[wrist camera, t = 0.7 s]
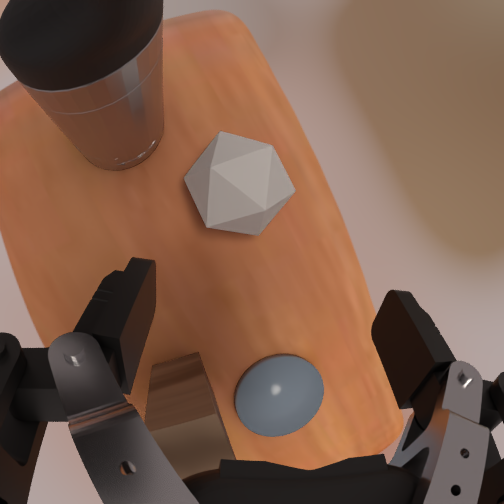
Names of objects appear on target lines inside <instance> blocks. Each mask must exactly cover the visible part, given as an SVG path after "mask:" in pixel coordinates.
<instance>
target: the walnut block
mask: <svg viewBox="0 0 504 504" xmlns="http://www.w3.org/2000/svg"><path fill="white" fill-rule="evenodd" d="M144 424H145V425H146V427H147V429H148V430H149V432H150V433H151V435H152V437H153V438H154V440H155V441H156V443H157V445H158V446H159V448H160V449H161V451H162V452H163V454H164V455H165V457H166V458H167V460H168V461H169V463H170V464H171V466H172V467H173V469H174V470H175V471H176V473H177V474H178V476H179V477H180V478H181V480H182V479H184V478H186V477H188V476H191V475H194V474H196V473H199V472H203V471H207V470H213V469H218V468H219V464H220V460H221V459H228V460H236V458H235V455H234V452H233V449H232V447H231V444H230V441H229V438H228V435H227V432H226V429H225V426H224V423H223V421H222V418H221V415H220V412H219V408H218V405H217V402H216V399H215V396H214V393H213V390H212V388H211V385H210V382H209V380H208V377H207V374H206V372H205V369H204V366H203V363H202V361H201V358H200V355H199V352H197V353H194V354H191V355H188V356H184V357H181V358H177V359H174V360H171V361H167V362H164V363H160V364H157V365H153V366H152V371H151V378H150V385H149V392H148V399H147V407H146V415H145V423H144Z"/></svg>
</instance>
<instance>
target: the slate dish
mask: <svg viewBox="0 0 504 504" xmlns="http://www.w3.org/2000/svg"><path fill="white" fill-rule="evenodd" d="M323 394H324V385H323V380H322V378H321V375H320V374H319V372H318V371H317V369H316V368H315V367H314V366H313V365H312V364H310V363H309V362H308V361H306V360H305V359H303V358H301V357H299V356H296V355H291V354H276V355H272V356H269V357H266V358H264V359H261V360H259V361H258V362H256V363H255V364H253V365H252V366H251V367H250V368H249V369H248V370H247V371H246V372H245V373H244V374H243V375H242V377H241V378H240V380H239V382H238V384H237V386H236V390H235V395H234V404H235V408H236V411H237V414H238V416H239V418H240V420H241V421H242V423H243V424H244V425H245V426H246V427H247V428H248V429H249V430H251V431H252V432H254V433H256V434H259V435H263V436H270V437H275V436H283V435H287V434H290V433H292V432H295V431H296V430H298V429H300V428H302V427H303V426H304V425H306V424H307V423H308V422H309V421H310V420H311V419H312V418H313V417H314V415H315V414H316V413H317V411H318V409H319V407H320V405H321V403H322V399H323Z"/></svg>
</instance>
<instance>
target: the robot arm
mask: <svg viewBox="0 0 504 504" xmlns="http://www.w3.org/2000/svg"><path fill="white" fill-rule="evenodd" d="M162 31H163V0H10V1H9V3H8V4H7V6H6V8H5V10H4V11H3V13H2V16H1V18H0V56H1V58H2V60H3V61H4V63H5V64H6V66H7V67H8V68H9V69H10V71H11V72H12V73H13V74H14V76H15V77H16V78H17V79H18V81H19V82H20V83H21V84H22V86H23V87H24V88H25V89H26V90H27V92H28V93H29V94H30V95H31V96H32V97H33V99H34V100H35V101H36V102H37V103H38V104H39V105H40V106H41V108H42V109H43V110H44V111H45V112H46V113H47V115H48V116H49V117H50V118H51V119H52V120H53V122H54V123H55V124H56V125H57V126H58V127H59V128H60V129H61V131H62V132H63V133H64V134H65V135H66V136H67V137H68V138H69V140H70V141H71V142H72V143H73V144H74V145H75V146H76V148H77V149H78V150H79V151H80V152H81V153H82V154H83V155H84V156H85V157H86V158H87V159H88V160H89V162H91V163H92V164H94V165H95V166H97V167H100V168H103V169H107V170H123V169H127V168H130V167H133V166H135V165H137V164H139V163H141V162H142V161H143V160H145V159H146V158H147V157H149V156H150V154H151V153H152V152H153V151H154V150H155V149H156V147H157V145H158V143H159V142H160V140H161V137H162V134H163V128H164V113H163V38H162ZM155 307H156V263H155V260H149V259H142V258H135V257H132V258H131V260H130V261H129V263H128V265H127V267H126V269H125V270H124V272H123V271H117V270H115V271H113V272H112V273H110V274H109V275H108V276H106V277H105V278H104V279H103V280H102V282H101V284H100V285H99V287H98V289H97V291H96V292H95V294H94V295H93V297H92V300H90V302H89V304H88V306H87V307H86V309H85V311H84V313H83V315H82V316H81V318H80V320H79V322H78V324H77V325H76V327H75V329H74V331H73V332H70V333H66V334H63V335H61V336H59V337H58V338H57V339H55V340H54V341H53V343H52V344H51V345H50V347H48V348H21V346H20V343H19V341H18V339H17V338H16V337H15V336H13V335H12V334H9V333H0V504H27V500H28V496H29V491H30V486H31V482H32V478H33V474H34V470H35V466H36V462H37V458H38V455H39V451H40V447H41V444H42V440H43V437H44V434H45V430H46V427H47V424H48V422H54V421H55V422H69V424H68V426H69V430H70V433H71V435H72V438H73V441H74V443H75V445H76V448H77V450H78V452H79V455H80V457H81V459H82V462H83V464H84V466H85V468H86V470H87V472H88V474H89V476H90V478H91V480H92V482H93V484H94V486H95V488H96V490H97V492H98V494H99V496H100V498H101V500H102V501H103V503H104V504H504V458H503V459H502V460H501V457H500V455H499V452H498V449H497V447H496V444H495V441H494V439H493V436H492V434H491V431H492V430H493V429H494V428H495V427H496V426H497V425H498V424H500V423H501V422H502V421H503V423H504V372H502V373H500V375H499V376H498V377H497V378H496V380H495V381H494V382H491V381H486V380H482V378H481V375H480V374H479V372H478V371H477V370H476V369H475V368H474V367H473V366H472V365H470V364H468V363H466V362H463V361H457V360H456V359H455V357H454V355H453V354H452V352H451V350H450V348H449V347H448V345H447V344H446V342H445V340H444V338H443V337H442V335H440V332H439V330H438V328H437V327H435V324H434V322H433V321H432V319H431V317H430V316H429V314H428V313H426V312H425V311H424V310H423V309H422V308H421V307H420V306H419V304H418V303H417V301H416V300H415V298H414V297H413V295H412V294H411V293H410V292H408V291H399V290H390V291H389V292H388V293H387V294H386V296H385V298H384V301H383V303H382V305H381V307H380V309H379V311H378V313H377V315H376V317H375V320H374V322H373V324H372V329H371V335H372V340H373V342H374V345H375V347H376V350H377V352H378V354H379V357H380V359H381V362H382V365H383V367H384V370H385V372H386V375H387V377H388V380H389V383H390V385H391V388H392V390H393V393H394V396H395V399H396V401H397V404H398V407H399V409H407V408H413V410H414V412H413V413H412V414H411V415H410V417H409V419H408V422H407V424H406V427H405V430H404V432H403V435H402V438H401V440H400V443H399V445H398V447H397V450H396V452H395V455H394V457H393V458H392V460H391V461H390V463H389V464H387V463H386V459H385V456H384V454H379V455H371V456H363V457H354V458H348V459H345V460H342V461H340V462H337V463H334V464H331V465H328V466H324V467H321V468H318V469H315V470H304V469H298V468H293V467H288V466H284V465H279V464H275V463H271V462H266V461H244V460H228V459H221V460H220V464H219V468H218V469H213V470H207V471H203V472H199V473H196V474H194V475H191V476H188V477H186V478H184V479H182V480H181V478H180V477H179V476H178V474H177V473H176V471H175V470H174V469H173V467H172V466H171V464H170V463H169V461H168V460H167V458H166V457H165V455H164V454H163V452H162V451H161V449H160V448H159V446H158V445H157V443H156V441H155V440H154V438H153V437H152V435H151V433H150V432H149V430H148V429H147V427H146V425H145V424H144V422H143V420H142V418H141V417H140V415H139V413H138V412H137V410H136V409H135V407H134V406H133V405H132V404H129V403H128V402H127V400H126V399H125V397H124V395H123V393H124V394H129V395H130V393H131V389H132V386H133V382H134V379H135V375H136V372H137V369H138V365H139V362H140V359H141V355H142V352H143V349H144V345H145V342H146V339H147V336H148V333H149V330H150V327H151V323H152V320H153V317H154V313H155Z"/></svg>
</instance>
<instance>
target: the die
mask: <svg viewBox="0 0 504 504" xmlns="http://www.w3.org/2000/svg"><path fill="white" fill-rule="evenodd" d="M184 180H185V182H186V185H187V187H188V189H189V191H190V193H191V195H192V198H193V200H194V202H195V204H196V206H197V208H198V210H199V213H200V215H201V217H202V219H203V221H204V223H205V225H206V227H207V228H213V229H219V230H226V231H232V232H238V233H244V234H251V235H257V236H259V234H260V233H261V232H262V231H263V230H264V228H265V227H266V226H267V225H268V224H269V222H270V221H271V220H272V219H273V218H274V217H275V215H276V214H277V213H278V212H279V211H280V209H281V208H282V207H283V206H284V205H285V203H286V202H287V201H288V200H289V199H290V197H291V196H292V195H293V194H294V193H295V191H296V190H295V188H294V186H293V184H292V182H291V180H290V178H289V176H288V174H287V172H286V170H285V168H284V166H283V165H282V163H281V161H280V159H279V157H278V155H277V153H276V151H275V149H274V147H273V145H269V144H266V143H263V142H259V141H256V140H252V139H249V138H245V137H241V136H238V135H234V134H230V133H226V132H222V131H220V132H219V133H218V134H217V135H216V137H215V138H214V139H213V140H212V142H211V143H210V144H209V145H208V147H207V148H206V149H205V150H204V152H203V153H202V154H201V156H200V157H199V158H198V160H197V161H196V162H195V163H194V165H193V166H192V167H191V169H190V170H189V171H188V173H187V174H186V175H185V177H184Z"/></svg>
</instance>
